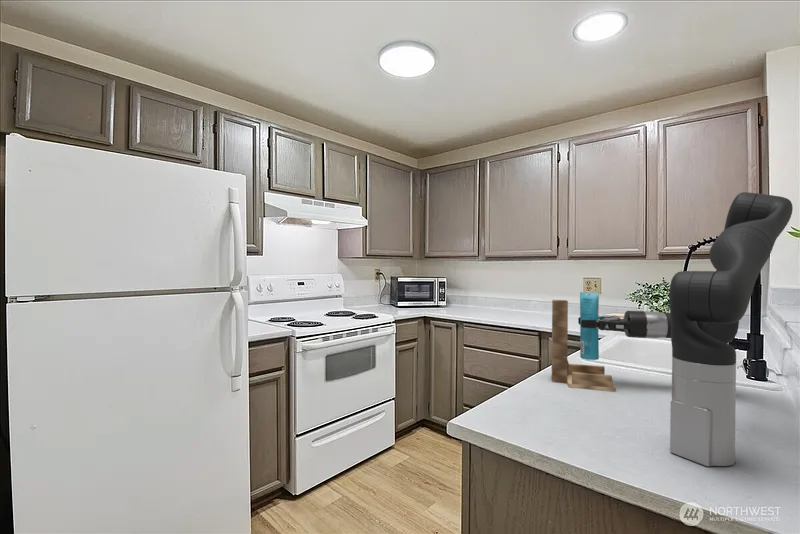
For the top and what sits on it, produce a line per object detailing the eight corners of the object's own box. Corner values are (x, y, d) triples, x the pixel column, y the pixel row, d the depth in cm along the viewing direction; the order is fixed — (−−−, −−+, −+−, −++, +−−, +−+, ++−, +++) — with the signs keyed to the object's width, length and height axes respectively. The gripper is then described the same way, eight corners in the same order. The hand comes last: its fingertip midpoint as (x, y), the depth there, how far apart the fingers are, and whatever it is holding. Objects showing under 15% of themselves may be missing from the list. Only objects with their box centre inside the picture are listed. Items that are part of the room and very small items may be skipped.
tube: (606, 360, 114) (605, 293, 114) (593, 362, 112) (593, 293, 112) (585, 355, 121) (584, 292, 121) (573, 356, 119) (572, 292, 119)
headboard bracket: (607, 379, 121) (607, 300, 121) (615, 391, 109) (616, 303, 109) (550, 375, 125) (551, 298, 125) (553, 385, 114) (554, 301, 114)
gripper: (638, 308, 119) (576, 307, 124) (652, 314, 105) (583, 312, 111) (638, 333, 119) (576, 331, 124) (653, 342, 105) (583, 339, 111)
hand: (580, 322), depth 117 cm, fingers closed on tube, 5 cm apart
